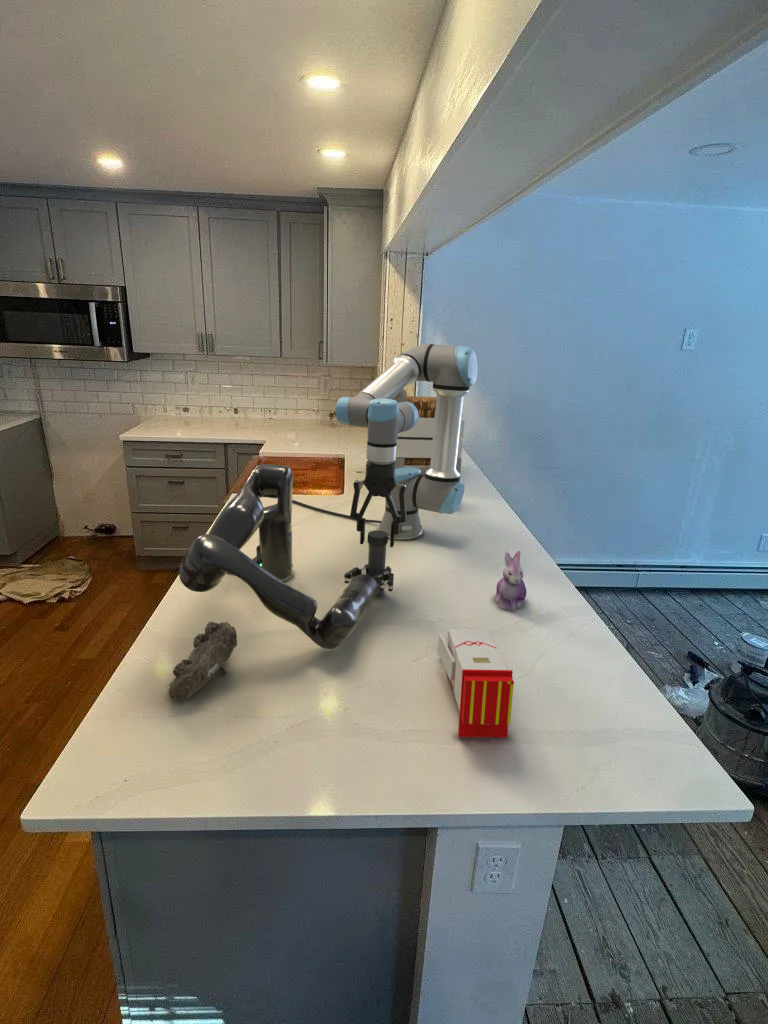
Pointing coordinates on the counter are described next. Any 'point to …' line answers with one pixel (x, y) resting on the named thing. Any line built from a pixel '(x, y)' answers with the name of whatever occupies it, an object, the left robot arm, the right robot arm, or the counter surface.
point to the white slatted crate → (420, 434)
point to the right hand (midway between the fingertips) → (377, 543)
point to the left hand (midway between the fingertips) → (379, 567)
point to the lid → (377, 538)
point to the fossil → (203, 659)
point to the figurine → (511, 584)
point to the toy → (478, 682)
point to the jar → (376, 562)
